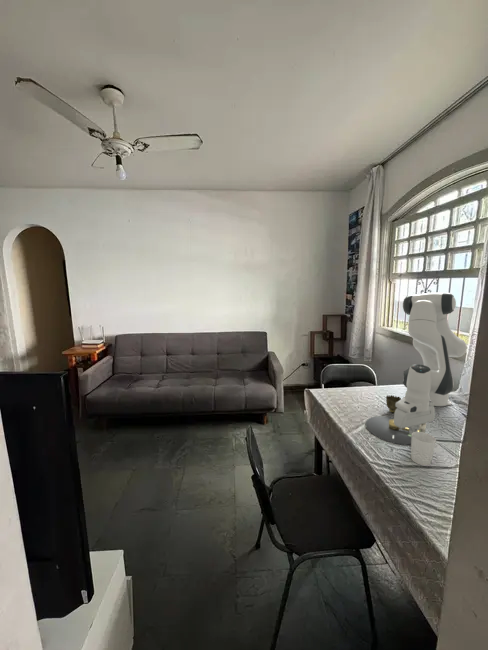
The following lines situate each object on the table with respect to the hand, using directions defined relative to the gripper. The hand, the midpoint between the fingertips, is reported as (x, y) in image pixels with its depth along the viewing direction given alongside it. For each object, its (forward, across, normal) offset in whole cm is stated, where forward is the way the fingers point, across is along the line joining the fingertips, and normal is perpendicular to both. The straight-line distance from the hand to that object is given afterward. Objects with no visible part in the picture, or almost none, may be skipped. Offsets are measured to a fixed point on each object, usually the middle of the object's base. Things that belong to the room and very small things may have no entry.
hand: (413, 433), depth 121 cm
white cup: (+4, +8, +10) cm, 14 cm away
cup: (+4, -16, -24) cm, 29 cm away
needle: (+3, -4, -6) cm, 8 cm away
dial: (+4, -1, -10) cm, 11 cm away
